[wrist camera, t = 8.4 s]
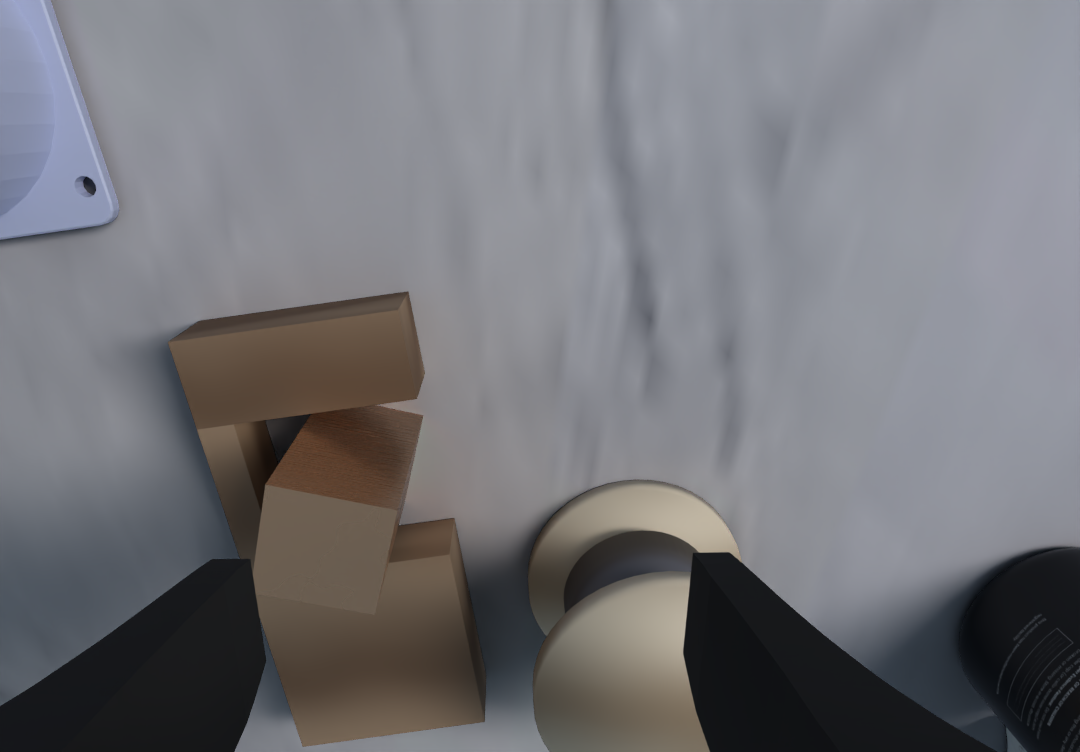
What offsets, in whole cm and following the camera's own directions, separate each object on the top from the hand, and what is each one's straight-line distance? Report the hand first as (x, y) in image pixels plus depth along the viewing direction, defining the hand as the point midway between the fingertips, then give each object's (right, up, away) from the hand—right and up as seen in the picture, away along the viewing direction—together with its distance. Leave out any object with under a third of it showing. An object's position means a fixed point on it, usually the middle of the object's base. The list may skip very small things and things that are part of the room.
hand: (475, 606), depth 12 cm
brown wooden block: (-4, +2, +10) cm, 11 cm away
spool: (+4, -3, +12) cm, 13 cm away
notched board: (-5, -1, +11) cm, 12 cm away
